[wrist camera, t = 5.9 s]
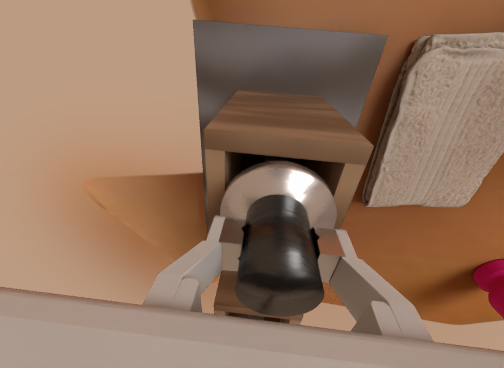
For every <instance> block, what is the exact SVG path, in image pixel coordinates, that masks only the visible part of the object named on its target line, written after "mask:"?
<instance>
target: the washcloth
mask: <svg viewBox="0 0 504 368" xmlns="http://www.w3.org/2000/svg"><path fill="white" fill-rule="evenodd" d="M503 152H504V32H495V33H477V34H475V33H474V34H444V35H440V34H434V35H431V36H424V37H419V38H418V39H417V40H416V42H415V44H414V46H413V48H412V52H411V55H410V56H409V57H408V59H407V60H406V62H405V63H404V65H403V67H402V70H401V74H400V75H399V77H398V81H397V83H396V85H395V88H394V90H393V94H392V97H391V100H390V103H389V107H388V110H387V112H386V116H385V120H384V123H383V125H382V129H381V132H380V135H379V139H378V142H377V145H376V149H375V152H374V155H373V159H372V163H371V166H370V169H369V172H368V175H367V178H366V182H365V185H364V188H363V193H362V202H363V205H364V206H365V207H390V206H398V205H415V204H417V205H418V206H421V207H423V206H424V207H427V206H428V207H461V206H463V205H465V204H466V203H468V202H469V201H470V198H471V197H472V195H474V194H475V192H476V191H477V188H479V185H481V184H482V181H483V178H484V177H485V176H487V175H488V172H490V170H491V169H492V166H494V164H495V163H496V162H497V161H498V159H499V158H500V156H501V155H502V154H503Z"/></svg>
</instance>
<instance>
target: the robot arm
mask: <svg viewBox="0 0 504 368" xmlns="http://www.w3.org/2000/svg"><path fill="white" fill-rule="evenodd" d="M245 227H246V219H240V218H233V217H224V216H217V215H216V216H215V217H214V219H213V222H212V225H211V227H210V230H209V233H208V236H207V239H206V241H201V242H200V243H199V244H197V245H196V246H195V247H193V248H192V249H191V250H189V251H188V252H187V253H185V254H184V255H183V256H181V257H180V258H179V259H177V260H176V261H175V262H173V263H172V264H171V265H169V266H168V267H167V268H165V269H164V270H162V271H161V272H160V273H159V274H158V276H157V278H156V279H155V281H154V283H153V285H152V287H151V289H150V291H149V293H148V295H147V297H146V299H145V301H144V303H143V305H138V304H129V303H122V302H113V301H106V300H99V299H91V298H83V297H75V296H67V295H59V294H51V293H44V292H36V291H28V290H21V289H12V288H5V287H0V368H504V351H500V350H492V349H484V348H476V347H468V346H461V345H452V344H445V343H436V342H434V341H433V340H432V338H431V336H430V334H429V332H428V330H427V329H426V327H425V325H424V323H423V322H422V320H421V318H420V316H419V314H418V312H417V310H416V309H415V307H414V305H413V304H412V303H411V302H410V301H408V300H407V299H406V298H405V297H404V296H403V295H402V294H400V293H399V292H398V291H397V290H396V289H395V288H394V287H392V286H391V285H390V284H389V283H388V282H387V281H386V280H385V279H383V278H382V277H381V276H380V275H379V274H378V273H377V272H375V271H374V270H373V269H372V268H371V267H370V266H369V265H367V264H366V263H365V262H364V261H363V260H362V259H358V258H357V255H356V253H355V250H354V248H353V246H352V243H351V241H350V238H349V236H348V234H347V231H345V230H341V229H330V228H320V227H312V228H311V232H312V237H313V242H314V246H315V251H316V256H317V261H318V265H319V270H320V275H321V280H322V282H327V283H329V285H330V286H331V287H332V289H333V290H334V291H335V293H336V294H337V295H338V297H339V298H340V299H341V301H342V302H343V303H344V305H345V306H346V308H347V309H348V310H349V311H350V313H351V314H352V316H353V317H354V318H355V320H356V321H357V323H356V325H355V326H354V327H353V329H352V330H351V331H343V330H335V329H327V328H318V327H311V326H303V325H296V324H288V323H280V322H272V321H264V320H256V319H248V318H240V317H232V316H224V315H216V314H208V313H202V307H201V298H200V295H201V294H202V293H203V292H204V290H205V289H206V288H207V287H208V286H209V285H210V284H211V283H212V282H213V280H214V279H215V278H216V277H217V276H218V275H219V274H220V273H221V271H222V270H228V271H238V266H239V259H240V255H241V253H242V247H243V240H244V233H245Z"/></svg>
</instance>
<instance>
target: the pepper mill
mask: <svg viewBox="0 0 504 368" xmlns="http://www.w3.org/2000/svg"><path fill="white" fill-rule="evenodd" d="M473 279H474V281H475V282H476V283H477V284H478V285H479V286H480V287H481V289H482V290H484V291H486V292H489V296H488V298H489V303H490V304H491V306H492V307H493V308H494V309H495V310H496V311H497V312H498V313H499V314H500V315H501V316H502V317H503V318H504V259H499V260H495V261H491V262H488V263H486V264H484V265H482V266H480V267H479V268H477V269H476V270H475V272H474V273H473Z"/></svg>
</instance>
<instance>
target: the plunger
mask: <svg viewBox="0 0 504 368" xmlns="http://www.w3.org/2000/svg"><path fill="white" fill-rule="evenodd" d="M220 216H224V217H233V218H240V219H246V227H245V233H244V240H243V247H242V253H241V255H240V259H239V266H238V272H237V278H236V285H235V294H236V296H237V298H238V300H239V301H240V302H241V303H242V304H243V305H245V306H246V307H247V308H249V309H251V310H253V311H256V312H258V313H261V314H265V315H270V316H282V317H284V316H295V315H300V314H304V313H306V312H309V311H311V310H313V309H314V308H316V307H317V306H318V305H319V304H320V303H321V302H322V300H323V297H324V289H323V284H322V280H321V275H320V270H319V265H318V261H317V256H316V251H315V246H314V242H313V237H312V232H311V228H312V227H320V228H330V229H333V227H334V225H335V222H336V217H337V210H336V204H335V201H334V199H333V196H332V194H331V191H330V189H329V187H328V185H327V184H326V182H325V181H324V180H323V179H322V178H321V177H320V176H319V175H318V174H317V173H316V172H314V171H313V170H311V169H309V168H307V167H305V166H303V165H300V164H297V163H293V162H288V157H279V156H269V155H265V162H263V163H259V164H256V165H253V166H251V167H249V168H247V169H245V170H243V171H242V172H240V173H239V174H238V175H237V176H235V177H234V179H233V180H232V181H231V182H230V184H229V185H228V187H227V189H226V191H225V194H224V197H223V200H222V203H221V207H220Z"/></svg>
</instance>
